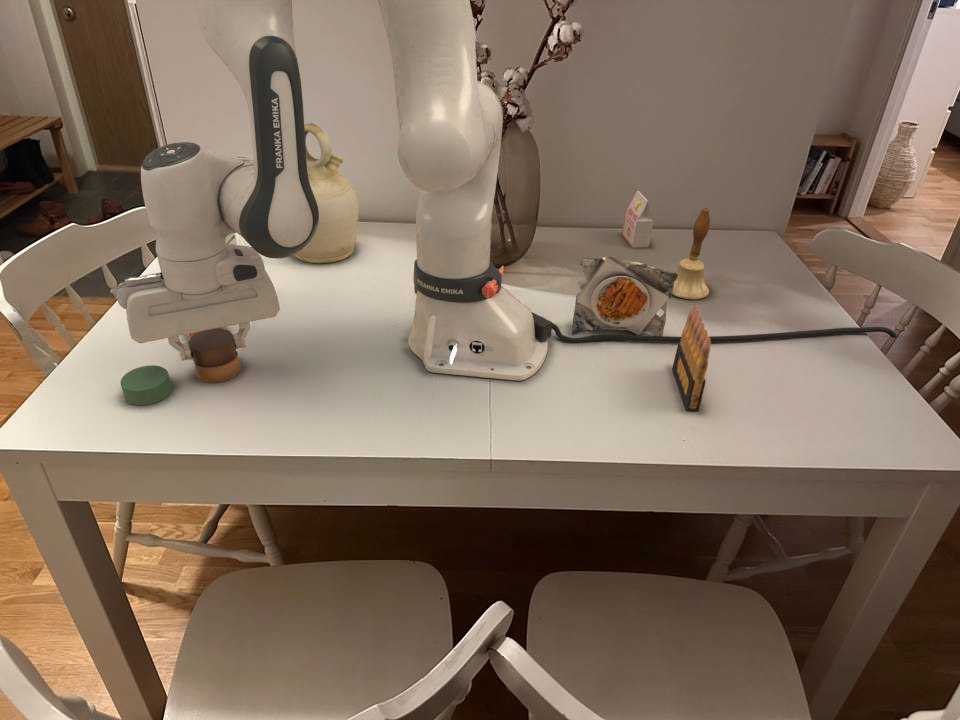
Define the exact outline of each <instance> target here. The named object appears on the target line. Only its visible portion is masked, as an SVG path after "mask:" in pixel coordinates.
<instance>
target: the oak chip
mask: <svg viewBox="0 0 960 720" xmlns="http://www.w3.org/2000/svg"><path fill="white" fill-rule="evenodd" d="M193 363H194V364H193V365H194V368H195V372H196V376H197V378H198V379H199V380H200V381H202V382H204V383H208V384H209V383H211V384H217V383H223V382H227V381H229V380H232V379H234V378H235V377H236V376H238V375H239V373H240V371H241V362H240V357H239V352H238V349H236V354H235V356H234V357H233V358H232V359H231V360H229V361H228V362H225V363H223V364H220V365H215V366H203V365H199V364H197V363H195V362H194V361H193Z"/></svg>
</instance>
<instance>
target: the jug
mask: <svg viewBox="0 0 960 720" xmlns="http://www.w3.org/2000/svg"><path fill="white" fill-rule="evenodd" d="M304 129H305V144H306V145H307V143H306V142H307V141H306V140H307V135H308V134H309V133H310V134H312V135H313V136H314V137H315V138H316V141H318V144H319V148H320V156H319V158H315V157H314V156H312V155H311V154H310V152H309V150H308V147H307V146H306V160H307V172H308V178H309V183H310V186H311V189H312V192H313V194H314V197H315V199H316V202H317V205H318V210H319V222H318V226H317V229H316V232H315V234H314V236H313V238H312V239H311V240H310V242H309V243H308V244H307V245H306V246H305V247H304V248H303V249H302V250H300V251H299V252H297V253H296V254H294V255H293V256H294V257H295V258H296V259H297V260H300V261H302V262H305V263H309V264H331V263H337V262H340V261H343V260H345V259H347V258H348V257H350V256H351V255H352V254H353V253H354V251H355V244H356V240H357V231H358V225H359V224H358V223H359V215H360V213H359V211H360V206H359V205H360V204H359V199H358V195H357V192H356V189H355V188H354V186H353V184H352V183H351V181H350V180H349V179H348V178H347V177H346V176H344V175H343V174H341V173H340V172H339V171H338V169H339V168H340V166H341V165H342V164H343V163H344V159H343V158H342V157H340V156H339V155H336V154H334V153H332V146H331V141H330V138H329V136H328V135H327V133H326V132H325V130H324V129H323V128H322V127H320V126H319V125H317V124H315V123H312V122H311V123H304Z"/></svg>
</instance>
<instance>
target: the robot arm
mask: <svg viewBox="0 0 960 720" xmlns="http://www.w3.org/2000/svg"><path fill="white" fill-rule="evenodd" d="M377 2H378V6H379V11H380V14H381V18H382V21H383V25H384V29H385V34H386V38H387V42H388V45H389V51H390V56H391V62H392V70H393V80H394V91H395V92H394V93H395V101H396V102H395V103H396V111H397V119H398V129H399V130H398V131H399V134H398V144H397V157H398V163H399V166H400V169H401V170H402V172H403V174H404V176H405V177H406V178H407V179H408V180H409V182H410V183H411V184H413V185H414V186H415V187H417V188H418V189H420V191H419V195H418V196H419V197H418V202H417V206H416V209H415V242H416V243H415V245H416V259H415V260H414V263H413V285H414V286H413V287H414V290H413V291H414V294H415V306H414V307H415V308H414V314H413V321H412V325H411V329H410V333H409V336H408V340H407V344H408V347H409V349H410V351H411V352H412V353H413V354H414V355H415V356H416V357H418V359H420V360H421V361H422V363H423V366H424V368H425V370H426V371H427V372H429V373H432V374H433V373H434V374H442V375H443V374H445V375H455V376H466V377H476V378H486V379H495V380H496V379H497V380H509V381H520V382H521V381H524V380H526V379H529V378H531V377H532V376H534V375H535V374H536V373H537V372H538V371H539V370H540V369H541V367H542V365H543V364H544V361H545V360H546V358H547V354H548V349H549V348H548V345H549V344H548V339H549V338H551V337H552V334H553V331H554V334H555V335H556V337H557V338H558V339H559V340H560V341H562V342H565V343H567V344H584V343H589V342H594V341H595V342H596V341H602V340H603V341H605V340H609V341H610V340H611V341H613V340H614V341H630V342H631V341H634V342H656V343H657V342H661V343H678V342H680V341H681V337H682V336H669V335H668V336H667V335H665V336H664V335H663V336H652V335H637V334H635V335H634V334H618V333H617V334H614V333H601V334H593V335H587V336H582V337H572V336H571V337H570V336H567V335H564V334H563V333H562V332H561V329H560V327H559V326H558V325H557V324H555V323H554V322H552V321H551V320H549V319H547V318H545V317H543V316H541V315H539V314H537V313H535V312H533V311H532V310H531V309H530V307H528V306H527V305H526V304H525V303H523V302H522V301H521V300H520V299H518V298H517V297H516V296H514V295H513V294H512V293H511V292H509V290H507V289H506V288H505V287H504V286H503V285H502V282H503V281H502V278H503V275H504V268H505V266H504V265H501V267H500V268H499V270H498V268H497V267H496V266H495V265H494V264H493V262H492V260H491V242H492V221H493V209H494V202H495V196H496V189H497V181H498V173H499V166H500V165H499V164H500V155H501V147H502V135H503V123H504V114H503V107H502V103H501V100H500V99H499V97H498V95H497V94H496V92H494V90H493V89H492V88H490V87H489V86H488V85H487V84H485V83H482V82H480V81H478V72H477V71H478V70H477V69H478V68H477V58H476V56H477V54H476V51H477V50H476V39H477V30H476V26H475V22H474V16H473V11H472V6H471V1H470V0H377ZM195 4H196V10H197V13H198V14H197V15H198V20H199V24H200V28H201V32H202V35H203V37H204V39H205V41H206V42H207V44H208V46H209V47H210V48H211V49H212V51H213V52H214V53H215V55H217V57H218V58H219V59H220V60H221V61H222V62H223V64H224V65H225V66H226V67H227V69H228V70H229V72H230V73H231V74H232V75H233V77H234V78H235V80H236V82H237V84H238V85H239V87H240V89H241V91H242V93H243V95H244V98H245V100H246V104H247V108H248V112H249V121H250V132H251V133H250V134H251V143H252V146H251V147H252V155H253V156H252V157H253V159H252V158H249V157H245V156H230V155H224V154H220V153H217V152H215V151H214V152H213V151H211V150H208V149H206V148H204V147H202V146H201V145H199V144H198V143H195V142H189V141H183V142H173V143H169V144H165V145H162V146H159V147H157V148H155V149H153V150H151V152H150V153H148V154H147V155H146V156H145V158H144V159H143V161H142V163H141V167H140V184H141V191H142V197H143V203H144V208H145V212H146V217H147V221H148V223H149V226H150V227H151V229H152V231H153V233H154V236H155V253H156V258H157V262H158V266H159V270H160V272H155V273H150V274H149V273H148V274H146V275H142V276H131V277H130V276H129V277H128V278H124V281H123V282H120V283H119V284H118V285H117V287H116V288H115V296H116V299H117V302H118V304H119V306H120V307H121V308H122V309H124V310H126V312H125V313H126V320H127V326H128V330H129V334H130V338H131V339H132V340H133V341H135V342H136V343H138V344H144V343H149V342H155V341H160V340H165V339H167V340H168V344H169V345H170V346H172V347H173V348H174V349H175V350H176V351H177V352H179V354H180V358H181V361H187V360H193V359H192V358H193V357H192V354H191V349H190V347H189V342H187V343H183V342H182V341H181V340H180V337H181V336H184V335H187V334H191V333H196V332H201V331H206V330H211V329H216V328H221V327H224V328H226V327H230V326H231V327H232V326H236V325H238V326H239V328H238V331H237V333H232V334H233V337H234V343H235V348H236V350H238V349H239V350H240V349H243V348H246V346H247V345H246V338H247V335H248V333H249V331H250V329H251V322H256V321H260V320H266V319H271V318H275V317H277V315H278V313H279V312H280V310H281V306H280V302H279V298H278V295H277V291H276V288H275V286H274V283H273V281H272V280H271V277H270V276H269V274H268V272H267V270H266V267H265V263H264V261H263V259H262V257H265V258H268V259H273V260H274V259H285V258H288V257H291V256H294V254H296V253H297V252H299V251H300V250H302V249H303V248H304V247H305V246H306V245H307V244H308V243H309V242H310V240H311V239H312V238H313V236H314V234H315V232H316V229H317V226H318V222H319V210H318V205H317V202H316V199H315V197H314V194H313V192H312V189H311V186H310V183H309V178H308V172H307V160H306V147H307V143H306V144H305V129H304V125H305V115H304V102H303V101H304V99H303V89H302V88H303V87H302V79H301V73H300V68H299V61H298V57H297V52H296V46H295V35H294V25H293V24H294V23H293V22H294V21H293V20H294V19H293V0H195ZM233 233H235V234H237V235H239V236H240V237H241V238H242V239H244V241H245V242H246V243H247V244H248V245H249V246H247V245H239V244H237V245H232V244H226V237H227V236H228V235H230V234H233ZM855 333H856V334H861V333H863V334H865V333H866V334H867V333H884V334H887V335H888V336H889V337H890V338H892V339H898V335H897V333H896V331H894V330H893V329H891V328H888V327H885V326H866V327H865V326H864V327H857V326H856V327H855V326H854V327H836V328H825V329H823V328H822V329H811V330H809V329H808V330H798V331H796V330H795V331H786V332H771V333H769V332H768V333H758V334H757V333H756V334H755V333H754V334H740V335H714V336H713V335H712V336H709V335H708V337H710V341H711V343H717V342H718V343H719V342H720V343H721V342H742V341H757V340H758V341H759V340H772V339H773V340H774V339H785V338H798V337H811V336H822V335H823V336H825V335H834V334H836V335H837V334H855Z"/></svg>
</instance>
